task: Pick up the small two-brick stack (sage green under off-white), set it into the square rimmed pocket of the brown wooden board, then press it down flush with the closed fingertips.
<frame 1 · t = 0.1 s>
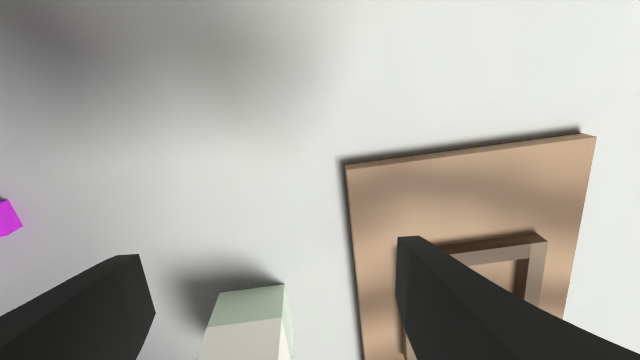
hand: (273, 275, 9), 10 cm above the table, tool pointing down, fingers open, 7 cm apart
brown wooden board: (458, 287, 22), on the table
brick stack: (258, 313, 22), on the table
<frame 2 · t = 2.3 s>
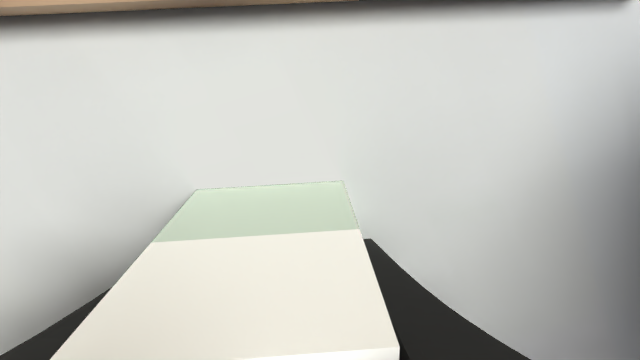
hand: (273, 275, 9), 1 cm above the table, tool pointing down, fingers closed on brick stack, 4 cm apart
brick stack: (277, 248, 10), on the table, touching gripper
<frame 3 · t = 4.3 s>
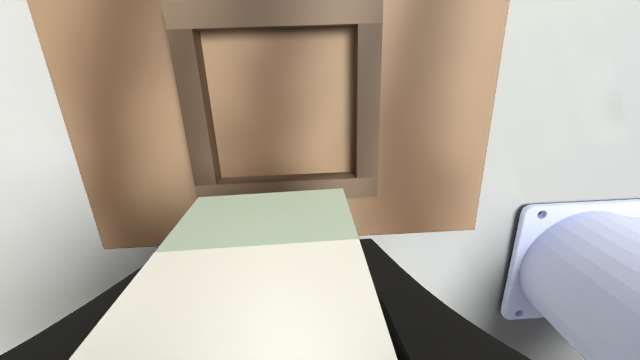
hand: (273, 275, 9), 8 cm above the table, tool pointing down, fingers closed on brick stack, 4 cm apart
brown wooden board: (284, 104, 16), on the table
brick stack: (277, 254, 10), point 7 cm above the table, touching gripper
when the fingers open (3 cm above the table, at t = 6.4 s): brick stack stays where it is, resting on brown wooden board.
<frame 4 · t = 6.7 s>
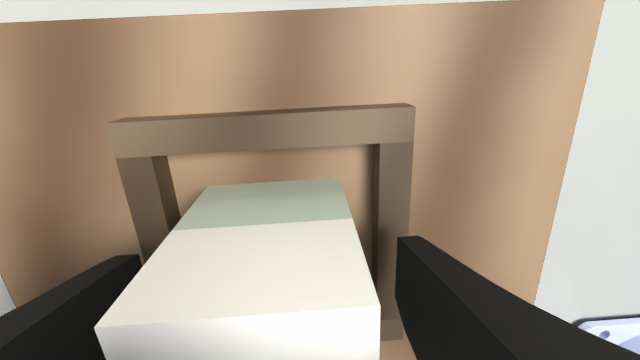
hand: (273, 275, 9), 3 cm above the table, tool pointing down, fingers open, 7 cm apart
brown wooden board: (281, 220, 12), on the table
brick stack: (280, 239, 11), point 1 cm above the table, touching brown wooden board
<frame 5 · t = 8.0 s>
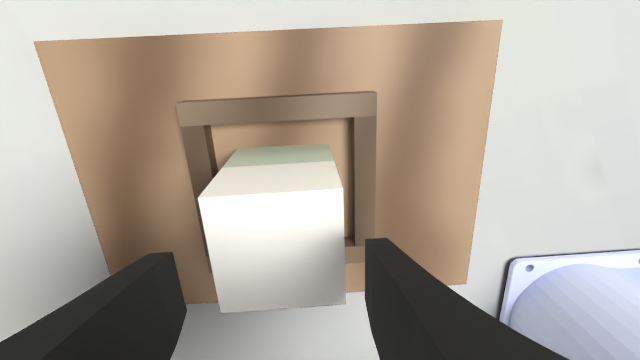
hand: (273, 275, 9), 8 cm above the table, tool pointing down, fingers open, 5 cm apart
brown wooden board: (287, 176, 17), on the table
brick stack: (287, 188, 16), point 1 cm above the table, touching brown wooden board
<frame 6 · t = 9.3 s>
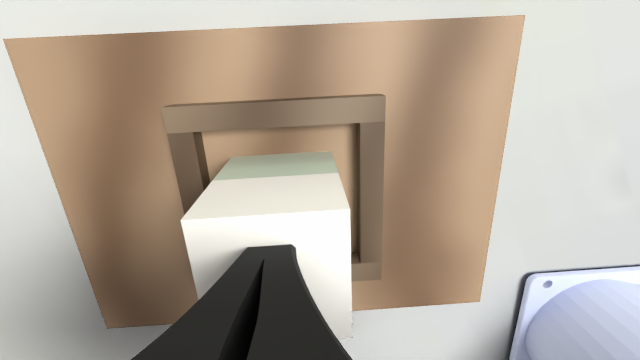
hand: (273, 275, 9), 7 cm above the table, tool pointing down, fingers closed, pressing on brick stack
brown wooden board: (286, 186, 15), on the table
brick stack: (285, 199, 15), point 1 cm above the table, touching gripper, brown wooden board
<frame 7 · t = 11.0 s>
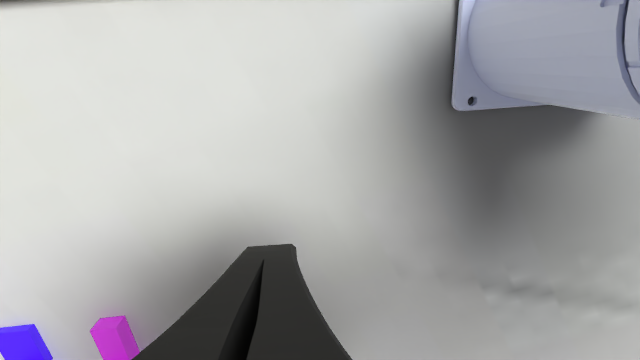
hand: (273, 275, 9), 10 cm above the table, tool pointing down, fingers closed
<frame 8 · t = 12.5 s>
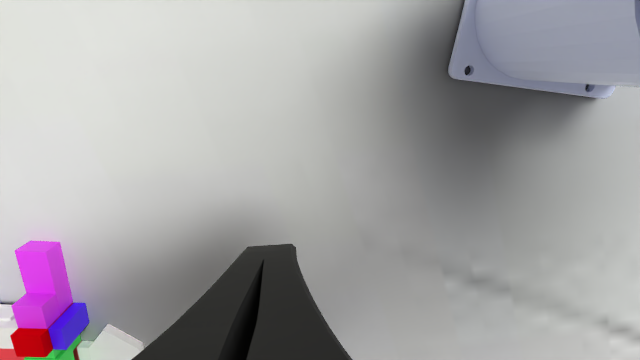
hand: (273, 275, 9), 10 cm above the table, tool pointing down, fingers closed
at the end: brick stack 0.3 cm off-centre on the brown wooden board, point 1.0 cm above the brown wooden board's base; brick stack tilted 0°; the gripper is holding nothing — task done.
